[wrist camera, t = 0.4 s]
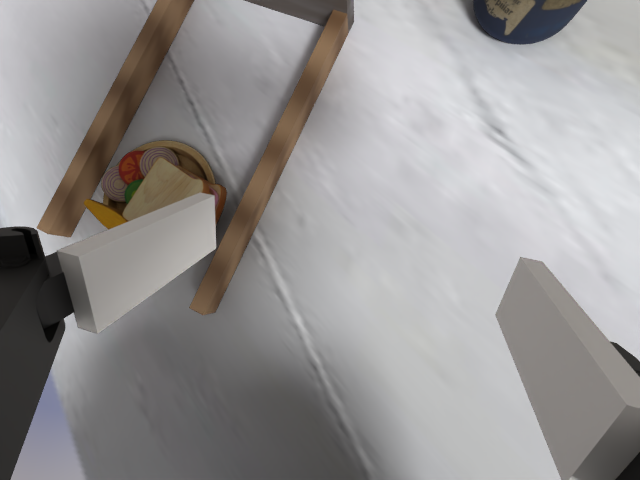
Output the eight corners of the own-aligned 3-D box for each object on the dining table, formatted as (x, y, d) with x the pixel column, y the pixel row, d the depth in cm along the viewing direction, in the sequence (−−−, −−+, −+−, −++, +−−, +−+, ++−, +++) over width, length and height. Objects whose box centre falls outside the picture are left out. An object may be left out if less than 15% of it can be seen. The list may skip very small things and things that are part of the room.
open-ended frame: (215, 312, 31) (188, 318, 26) (59, 231, 34) (9, 223, 29) (353, 21, 33) (353, -24, 28) (196, -29, 36) (170, -77, 31)
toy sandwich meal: (164, 123, 34) (134, 98, 30) (251, 197, 32) (233, 183, 27) (89, 209, 34) (47, 197, 29) (172, 290, 32) (140, 291, 27)
